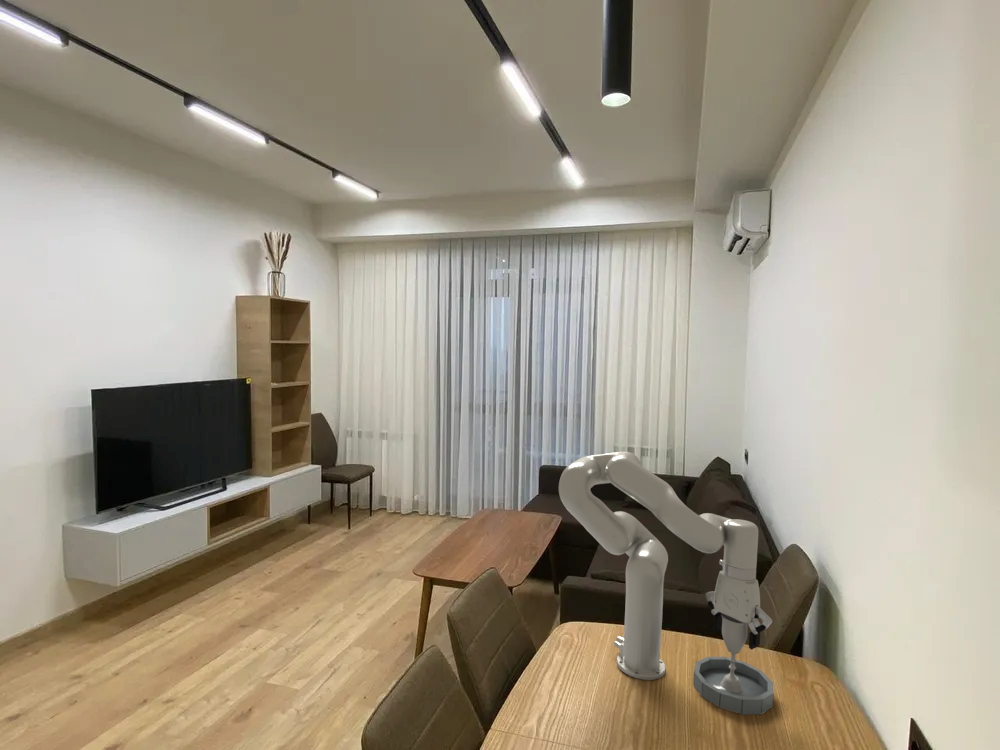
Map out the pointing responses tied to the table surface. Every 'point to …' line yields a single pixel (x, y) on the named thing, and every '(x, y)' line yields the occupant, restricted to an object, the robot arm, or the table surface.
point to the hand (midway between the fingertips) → (735, 638)
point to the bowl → (748, 701)
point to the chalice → (733, 649)
